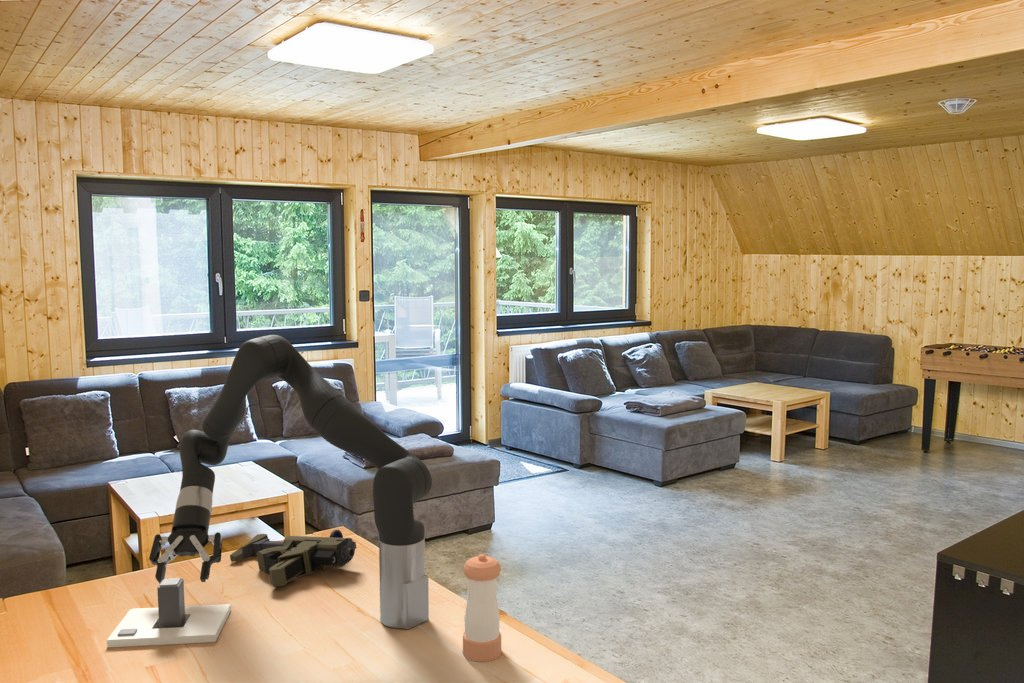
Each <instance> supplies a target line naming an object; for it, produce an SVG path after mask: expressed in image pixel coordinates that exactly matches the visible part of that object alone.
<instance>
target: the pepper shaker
mask: <svg viewBox="0 0 1024 683" xmlns="http://www.w3.org/2000/svg"><path fill="white" fill-rule="evenodd" d="M463 565H464V566H463V569H462V571H463V574H464V575H465V577H466V579H467V587H466V588H467V593H466V594H467V599H466V605H465V610H464V612H465V613H464V620H463V622H464V632H463V634H462V654H463V657H465V658H466V659H467V660H469V661H473V662H480V663H481V662H484V663H485V662H491V661H493V660H496V659H497V658H499V657H500V656H501V655H502V634H501V632H500V622H501V621H500V620H501V618H500V617H501V616H500V610H499V603H498V598H497V595H498V594H497V593H498V592H497V590H498V589H497V584H498V583H497V578H498V577H499V575H500V573H501V570H502V568H501V564H500V563H499V561H498V560H497V559H496V558H494V557H491V556H487V555H486V554H483V553H481V554H478V555H477V556H473V557H470V558H469V559H467V560H466V562H465V563H464V564H463Z"/></svg>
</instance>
